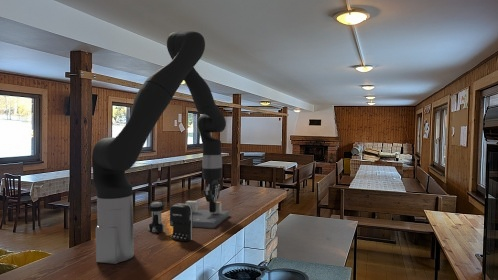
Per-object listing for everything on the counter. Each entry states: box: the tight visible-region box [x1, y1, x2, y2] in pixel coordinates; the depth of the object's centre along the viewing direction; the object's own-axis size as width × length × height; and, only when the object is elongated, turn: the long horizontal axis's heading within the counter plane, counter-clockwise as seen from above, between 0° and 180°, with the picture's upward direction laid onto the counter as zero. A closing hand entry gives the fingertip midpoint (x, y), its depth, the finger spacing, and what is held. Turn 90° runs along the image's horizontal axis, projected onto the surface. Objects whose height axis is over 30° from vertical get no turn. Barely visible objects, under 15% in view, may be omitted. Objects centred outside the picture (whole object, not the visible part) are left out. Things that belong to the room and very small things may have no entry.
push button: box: [147, 201, 165, 234], centre depth 123 cm, size 7×5×10 cm
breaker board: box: [169, 200, 230, 229], centre depth 137 cm, size 18×17×6 cm
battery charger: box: [169, 203, 193, 242], centre depth 113 cm, size 7×4×11 cm, turn 64°
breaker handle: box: [210, 201, 223, 214], centre depth 139 cm, size 2×4×4 cm, turn 76°
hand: (212, 211), depth 136 cm, fingers closed
